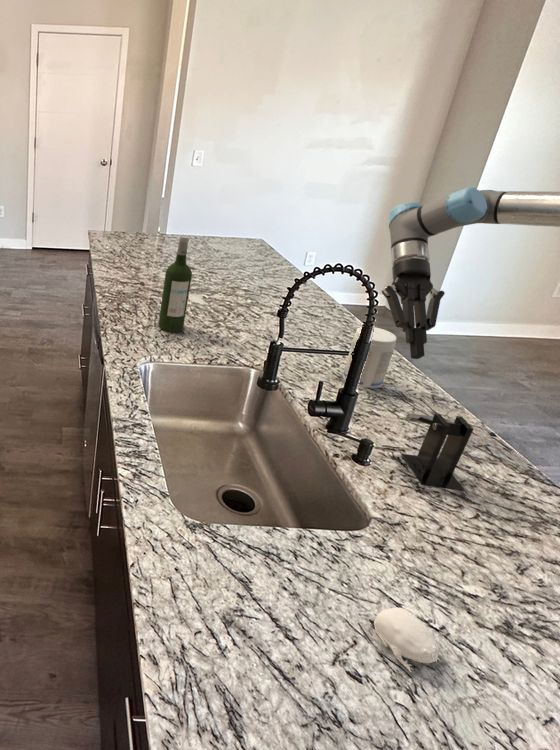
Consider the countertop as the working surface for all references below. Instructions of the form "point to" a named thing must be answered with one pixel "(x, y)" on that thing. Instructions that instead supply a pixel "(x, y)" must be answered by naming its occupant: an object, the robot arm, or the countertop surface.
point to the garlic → (406, 636)
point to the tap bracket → (440, 468)
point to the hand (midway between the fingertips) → (417, 356)
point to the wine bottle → (176, 291)
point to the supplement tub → (374, 357)
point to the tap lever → (453, 430)
